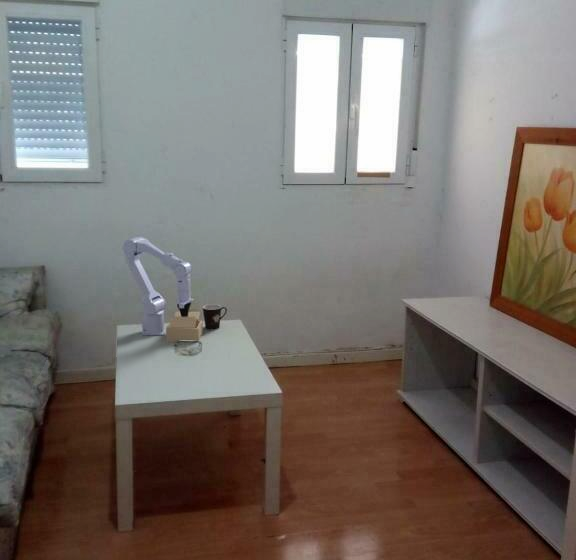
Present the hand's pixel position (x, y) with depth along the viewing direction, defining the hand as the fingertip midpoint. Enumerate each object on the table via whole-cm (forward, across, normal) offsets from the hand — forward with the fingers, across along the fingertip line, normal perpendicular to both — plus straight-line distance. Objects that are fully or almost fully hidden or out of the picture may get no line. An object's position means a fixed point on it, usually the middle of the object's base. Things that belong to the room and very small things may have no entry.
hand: (184, 319), depth 281 cm
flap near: (0, -5, 0) cm, 5 cm away
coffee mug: (+8, +13, -12) cm, 19 cm away
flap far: (0, +7, 0) cm, 7 cm away
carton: (+8, -1, 0) cm, 8 cm away
